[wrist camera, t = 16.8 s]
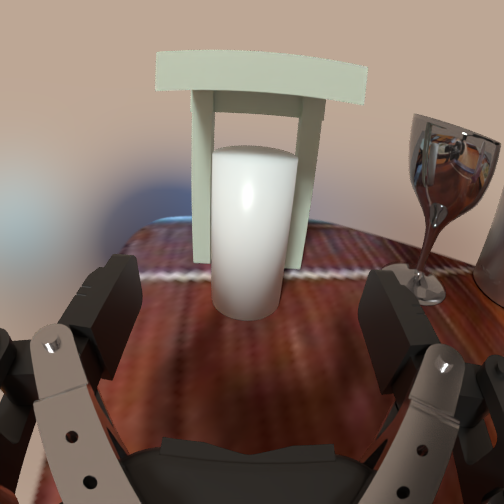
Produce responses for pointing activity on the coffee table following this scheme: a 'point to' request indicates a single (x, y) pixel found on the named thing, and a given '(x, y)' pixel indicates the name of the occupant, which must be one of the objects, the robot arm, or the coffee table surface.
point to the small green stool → (257, 102)
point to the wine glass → (443, 190)
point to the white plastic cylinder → (250, 228)
